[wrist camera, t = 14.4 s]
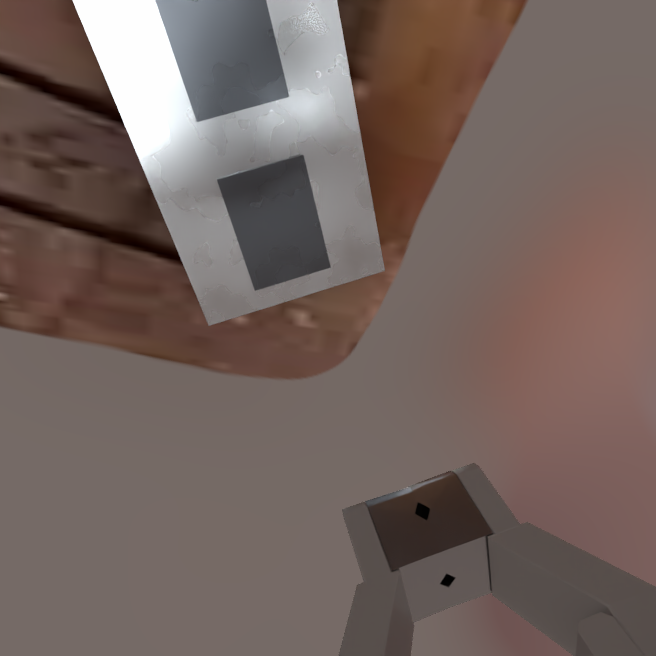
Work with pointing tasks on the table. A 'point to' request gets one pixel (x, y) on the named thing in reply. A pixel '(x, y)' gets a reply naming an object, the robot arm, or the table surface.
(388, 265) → the table surface
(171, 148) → the block
